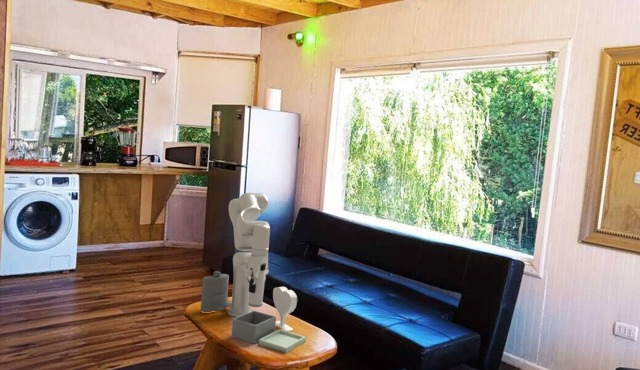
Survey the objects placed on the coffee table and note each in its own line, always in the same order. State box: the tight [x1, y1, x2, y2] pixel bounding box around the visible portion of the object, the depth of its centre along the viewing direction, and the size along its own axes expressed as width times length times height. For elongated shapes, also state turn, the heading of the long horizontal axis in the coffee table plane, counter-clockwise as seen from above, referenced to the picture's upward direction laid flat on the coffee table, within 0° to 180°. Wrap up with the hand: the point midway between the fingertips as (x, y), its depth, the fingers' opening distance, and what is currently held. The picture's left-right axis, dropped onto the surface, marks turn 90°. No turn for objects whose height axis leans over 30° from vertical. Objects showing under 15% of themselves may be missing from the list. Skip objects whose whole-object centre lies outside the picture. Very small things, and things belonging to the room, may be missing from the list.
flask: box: [200, 270, 230, 312], centre depth 254 cm, size 15×6×20 cm, turn 139°
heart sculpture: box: [272, 286, 298, 332], centre depth 241 cm, size 16×5×18 cm, turn 38°
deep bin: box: [231, 310, 277, 345], centre depth 226 cm, size 13×16×8 cm
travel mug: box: [248, 263, 266, 308], centre depth 225 cm, size 6×7×20 cm
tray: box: [258, 328, 307, 354], centre depth 220 cm, size 14×16×2 cm
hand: (256, 290), depth 226 cm, fingers closed on travel mug, 6 cm apart
